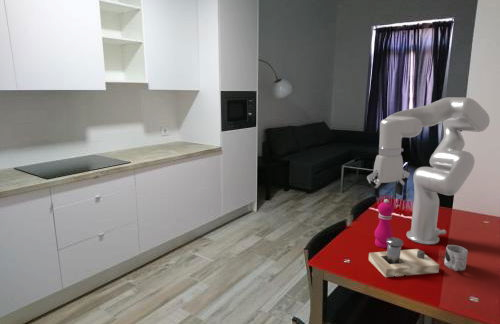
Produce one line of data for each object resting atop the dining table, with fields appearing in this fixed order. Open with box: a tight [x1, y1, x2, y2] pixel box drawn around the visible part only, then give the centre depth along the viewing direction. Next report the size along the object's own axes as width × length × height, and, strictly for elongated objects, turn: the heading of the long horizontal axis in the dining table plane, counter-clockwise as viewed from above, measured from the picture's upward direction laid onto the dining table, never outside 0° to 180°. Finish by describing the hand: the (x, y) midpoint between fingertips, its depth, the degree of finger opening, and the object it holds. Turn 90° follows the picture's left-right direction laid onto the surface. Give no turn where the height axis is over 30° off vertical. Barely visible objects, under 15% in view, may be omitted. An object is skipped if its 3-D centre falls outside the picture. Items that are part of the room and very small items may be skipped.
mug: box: [443, 244, 469, 272], centre depth 117 cm, size 10×7×7 cm, turn 150°
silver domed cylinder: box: [386, 236, 404, 264], centre depth 118 cm, size 5×5×10 cm
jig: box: [368, 248, 440, 278], centre depth 119 cm, size 20×12×5 cm, turn 98°
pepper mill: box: [374, 198, 395, 249], centre depth 134 cm, size 7×7×20 cm
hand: (387, 195), depth 125 cm, fingers open, 9 cm apart
